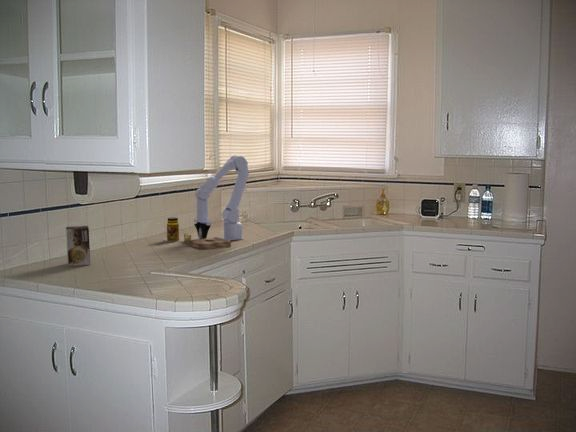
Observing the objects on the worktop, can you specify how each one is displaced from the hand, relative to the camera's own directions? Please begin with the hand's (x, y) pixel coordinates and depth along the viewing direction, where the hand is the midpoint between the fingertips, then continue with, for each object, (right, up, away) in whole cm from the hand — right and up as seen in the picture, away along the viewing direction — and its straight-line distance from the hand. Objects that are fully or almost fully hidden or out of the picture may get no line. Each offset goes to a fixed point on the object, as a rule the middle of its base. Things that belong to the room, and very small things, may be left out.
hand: (202, 237), depth 334 cm
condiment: (-16, -2, +1) cm, 16 cm away
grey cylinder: (0, -2, 0) cm, 2 cm away
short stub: (-7, -2, -1) cm, 8 cm away
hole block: (+5, -4, -12) cm, 13 cm away
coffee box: (-45, -10, -58) cm, 74 cm away
